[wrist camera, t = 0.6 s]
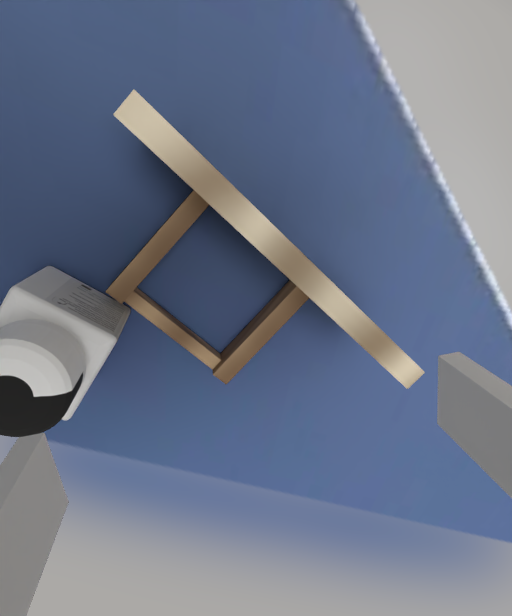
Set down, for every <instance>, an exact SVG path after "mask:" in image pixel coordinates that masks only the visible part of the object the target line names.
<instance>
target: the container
mask: <svg viewBox="0 0 512 616" xmlns="http://www.w3.org/2000/svg"><path fill="white" fill-rule="evenodd" d="M130 312H131V311H130V308H129V307H127V306H125V305H123V304H121V303H119V302H118V301H116V300H114V299H112V298H110V297H108V296H106V295H105V294H103V293H101V292H99V291H97V290H95V289H93V288H92V287H90V286H88V285H86V284H84V283H82V282H80V281H79V280H77V279H75V278H73V277H71V276H69V275H67V274H65V273H64V272H62V271H60V270H58V269H56V268H54V267H52V266H46V267H45V268H43V269H41V270H40V271H38V272H36V273H35V274H33V275H31V276H29V277H28V278H26V279H24V280H23V281H21V282H19V283H18V284H16V285H14V286H12V287H11V288H10V290H9V291H8V293H7V295H6V297H5V299H4V301H3V303H2V305H1V306H0V435H4V436H11V437H24V436H29V435H34V434H39V433H42V432H44V431H46V430H48V429H50V428H51V427H53V426H54V425H56V424H57V423H58V422H59V421H60V420H61V419H62V420H69V419H70V418H71V417H72V415H73V414H74V412H75V410H76V409H77V407H78V405H79V404H80V402H81V400H82V399H83V397H84V395H85V394H86V392H87V390H88V389H89V387H90V385H91V384H92V382H93V380H94V379H95V377H96V375H97V374H98V372H99V370H100V369H101V367H102V366H103V364H104V362H105V361H106V359H107V357H108V356H109V354H110V352H111V351H112V349H113V347H114V346H115V344H116V342H117V340H118V338H119V336H120V334H121V332H122V329H123V327H124V325H125V323H126V321H127V319H128V317H129V315H130Z"/></svg>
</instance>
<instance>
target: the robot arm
mask: <svg viewBox="0 0 512 616" xmlns="http://www.w3.org/2000/svg"><path fill="white" fill-rule="evenodd" d="M437 424H438V425H439V426H440V427H441V428H442V429H443V430H444V431H445V432H446V433H447V434H448V435H449V436H450V437H451V438H452V439H453V440H454V441H455V442H456V443H457V444H458V445H459V446H460V447H461V448H462V449H463V450H464V451H465V452H466V453H467V454H468V455H469V456H470V457H471V458H472V459H473V460H474V461H475V462H476V463H477V464H478V465H479V466H480V467H481V468H482V469H483V470H484V471H485V472H486V473H487V474H488V475H489V476H490V477H491V478H492V479H493V480H494V481H495V482H496V483H497V484H498V485H499V486H500V487H501V488H502V489H503V490H504V491H505V492H506V493H507V494H508V495H509V496H510V497H511V498H512V386H511V385H509V384H508V383H506V382H505V381H503V380H502V379H500V378H498V377H497V376H495V375H494V374H492V373H491V372H489V371H488V370H486V369H485V368H483V367H482V366H480V365H479V364H477V363H475V362H474V361H472V360H471V359H469V358H468V357H466V356H465V355H463V354H462V353H460V352H455V353H450V354H445V355H440V356H438V416H437ZM68 503H69V502H68V499H67V496H66V493H65V490H64V487H63V485H62V482H61V479H60V476H59V473H58V470H57V468H56V465H55V462H54V459H53V456H52V453H51V450H50V448H49V445H48V442H47V439H46V436H45V433H39V434H34V435H29V436H24V437H19V438H18V439H17V441H16V442H15V444H14V445H13V447H12V448H11V450H10V451H9V453H8V455H7V456H6V458H5V459H4V461H3V462H2V464H1V465H0V616H26V615H27V612H28V609H29V607H30V604H31V602H32V599H33V596H34V594H35V591H36V588H37V585H38V583H39V580H40V578H41V575H42V572H43V569H44V567H45V564H46V561H47V559H48V556H49V553H50V551H51V548H52V545H53V543H54V540H55V537H56V535H57V532H58V529H59V527H60V524H61V521H62V519H63V516H64V513H65V511H66V508H67V505H68Z"/></svg>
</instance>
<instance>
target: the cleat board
mask: <svg viewBox="0 0 512 616" xmlns="http://www.w3.org/2000/svg"><path fill="white" fill-rule="evenodd" d="M113 115H114V116H115V117H116V118H117V119H118V120H119V121H120V122H122V123H123V124H124V125H125V126H126V127H127V128H128V129H129V130H130V131H131V132H132V133H133V134H134V135H135V136H137V137H138V138H139V139H140V140H141V141H142V142H143V143H144V144H145V145H146V146H147V147H148V148H149V149H150V150H152V151H153V152H154V153H155V154H156V155H157V156H158V157H159V158H160V159H161V160H162V161H163V162H164V163H166V164H167V165H168V166H169V167H170V168H171V169H172V170H173V171H174V172H175V173H176V174H177V175H178V176H179V177H181V178H182V179H183V180H184V181H185V182H186V183H187V184H188V185H189V186H190V187H191V188H192V189H193V191H192V192H191V194H190V195H189V196H188V197H187V198H186V199H185V200H184V202H183V203H182V204H181V205H180V206H179V207H178V208H177V210H176V211H175V212H174V213H173V214H172V215H171V216H170V218H169V219H168V220H167V221H166V222H165V223H164V224H163V226H162V227H161V228H160V229H159V230H158V231H157V232H156V234H155V235H154V236H153V237H152V238H151V239H150V240H149V242H148V243H147V244H146V245H145V246H144V247H143V248H142V250H141V251H140V252H139V253H138V254H137V255H136V257H135V258H134V259H133V260H132V261H131V262H130V263H129V265H128V266H127V267H126V268H125V269H124V270H123V271H122V273H121V274H120V275H119V276H118V277H117V278H116V279H115V281H114V282H113V283H112V284H111V285H110V286H109V288H108V289H107V290H106V293H108V294H109V295H110V296H112V297H113V298H114V299H115V300H117V301H118V302H119V303H121V304H122V303H123V302H126V303H127V304H128V305H130V306H131V307H132V308H134V309H135V310H136V311H137V312H139V313H140V314H141V315H143V316H144V317H145V318H146V319H148V320H149V321H150V322H152V323H153V324H154V325H156V326H157V327H158V328H159V329H161V330H162V331H163V332H165V333H166V334H167V335H168V336H170V337H171V338H172V339H174V340H175V341H176V342H178V343H179V344H180V345H181V346H183V347H184V348H185V349H187V350H188V351H189V352H190V353H192V354H193V355H194V356H196V357H197V358H198V359H200V360H201V361H202V362H203V363H205V364H206V365H207V366H209V367H210V368H211V369H212V370H213V375H214V376H216V377H217V378H218V379H220V380H221V381H222V382H224V383H225V384H227V383H228V382H229V381H230V380H231V379H232V378H233V377H234V376H235V375H236V374H237V373H238V372H239V371H240V370H241V369H242V368H243V367H244V366H245V365H246V363H247V362H248V361H249V360H250V359H251V358H252V357H253V356H254V355H255V354H256V353H257V352H258V351H259V350H260V349H261V348H262V347H263V346H264V345H265V344H266V343H267V342H268V341H269V340H270V338H271V337H272V336H273V335H274V334H275V333H276V332H277V331H278V330H279V329H280V328H281V327H282V326H283V325H284V324H285V323H286V322H287V321H288V320H289V319H290V318H291V317H292V316H293V314H294V313H295V312H296V311H297V310H298V309H299V308H300V307H301V306H302V305H303V304H304V303H305V302H306V301H307V300H308V299H309V298H310V299H311V300H312V301H314V302H315V303H316V304H317V305H318V306H319V307H320V308H321V309H322V310H323V311H324V312H325V313H326V314H327V315H329V316H330V317H331V318H332V319H333V320H334V321H335V322H336V323H337V324H338V325H339V326H340V327H341V328H342V329H344V330H345V331H346V332H347V333H348V334H349V335H350V336H351V337H352V338H353V339H354V340H355V341H356V342H357V343H359V344H360V345H361V346H362V347H363V348H364V349H365V350H366V351H367V352H368V353H369V354H370V355H371V356H372V357H374V358H375V359H376V360H377V361H378V362H379V363H380V364H381V365H382V366H383V367H384V368H385V369H386V370H388V371H389V372H390V373H391V374H392V375H393V376H394V377H395V378H396V379H397V380H398V381H399V382H400V383H401V384H403V385H404V386H405V387H406V388H407V389H408V388H409V387H410V386H411V385H412V384H413V383H414V382H415V381H416V380H417V379H419V378H420V377H421V376H422V375H423V374H424V373H425V372H424V371H423V370H422V369H421V368H420V367H419V366H418V365H417V364H416V363H415V362H414V361H413V360H412V359H411V358H410V357H409V356H408V355H407V354H405V353H404V352H403V351H402V350H401V349H400V348H399V347H398V346H397V345H396V344H395V343H394V342H393V341H392V340H391V339H390V338H389V337H388V336H387V335H386V334H385V333H384V332H383V331H382V330H381V329H380V328H379V327H378V326H377V325H376V324H375V323H374V322H373V321H372V320H371V319H370V318H369V317H367V316H366V315H365V314H364V313H363V312H362V311H361V310H360V309H359V308H358V307H357V306H356V305H355V304H354V303H353V302H352V301H351V300H350V299H349V298H348V297H347V296H346V295H345V294H344V293H343V292H342V291H341V290H340V289H339V288H338V287H337V286H336V285H335V284H334V283H333V282H332V281H330V280H329V279H328V278H327V277H326V276H325V275H324V274H323V273H322V272H321V271H320V270H319V269H318V268H317V267H316V266H315V265H314V264H313V263H312V262H311V261H310V260H309V259H308V258H307V257H306V256H305V255H304V254H303V253H302V252H301V251H300V250H299V249H298V248H297V247H296V246H295V245H294V244H292V243H291V242H290V241H289V240H288V239H287V238H286V237H285V236H284V235H283V234H282V233H281V232H280V231H279V230H278V229H277V228H276V227H275V226H274V225H273V224H272V223H271V222H270V221H269V220H268V219H267V218H266V217H265V216H264V215H263V214H262V213H261V212H260V211H259V210H258V209H257V208H256V207H254V206H253V205H252V204H251V203H250V202H249V201H248V200H247V199H246V198H245V197H244V196H243V195H242V194H241V193H240V192H239V191H238V190H237V189H236V188H235V187H234V186H233V185H232V184H231V183H230V182H229V181H228V180H227V179H226V178H225V177H224V176H223V175H222V174H221V173H220V172H219V171H218V170H216V169H215V168H214V167H213V166H212V165H211V164H210V163H209V162H208V161H207V160H206V159H205V158H204V157H203V156H202V155H201V154H200V153H199V152H198V151H197V150H196V149H195V148H194V147H193V146H192V145H191V144H190V143H189V142H188V141H187V140H186V139H185V138H184V137H183V136H182V135H181V134H180V133H178V132H177V131H176V130H175V129H174V128H173V127H172V126H171V125H170V124H169V123H168V122H167V121H166V120H165V119H164V118H163V117H162V116H161V115H160V114H159V113H158V112H157V111H156V110H155V109H154V108H153V107H152V106H151V105H150V104H149V103H148V102H147V101H146V100H145V99H144V98H143V97H141V96H140V95H139V94H138V93H137V92H136V91H135V90H133V91H132V92H131V93H130V95H129V96H128V97H127V98H126V100H125V101H124V102H123V103H122V104H121V106H120V107H119V108H118V109H117V111H116V112H115V113H114V114H113ZM209 205H211V206H212V207H213V208H214V209H215V210H216V211H217V212H218V213H219V214H220V215H221V216H222V217H223V218H224V219H226V220H227V221H228V222H229V223H230V224H231V225H232V226H233V227H234V228H235V229H236V230H237V231H238V232H240V233H241V234H242V235H243V236H244V237H245V238H246V239H247V240H248V241H249V242H250V243H251V244H252V245H253V246H255V247H256V248H257V249H258V250H259V251H260V252H261V253H262V254H263V255H264V256H265V257H266V258H267V259H268V260H270V261H271V262H272V263H273V264H274V265H275V266H276V267H277V268H278V269H279V270H280V271H281V272H282V273H283V274H285V275H286V276H287V277H288V278H289V279H290V280H289V281H288V283H287V284H286V285H285V286H284V287H283V288H282V289H281V290H280V291H279V292H278V293H277V294H276V295H275V296H274V297H273V298H272V299H271V301H270V302H269V303H268V304H267V305H266V306H265V307H264V308H263V309H262V310H261V311H260V312H259V313H258V314H257V315H256V316H255V317H254V319H253V320H252V321H251V322H250V323H249V324H248V325H247V326H246V327H245V328H244V329H243V330H242V331H241V332H240V333H239V334H238V335H237V337H236V338H235V339H234V340H233V341H232V342H231V343H230V344H229V345H228V346H227V347H226V348H225V349H224V350H223V351H222V352H221V353H219V352H217V351H216V350H215V349H214V348H212V347H211V346H210V345H209V344H207V343H206V342H205V341H204V340H202V339H201V338H200V337H199V336H197V335H196V334H195V333H194V332H192V331H191V330H190V329H189V328H187V327H186V326H185V325H183V324H182V323H181V322H180V321H178V320H177V319H176V318H175V317H173V316H172V315H171V314H170V313H168V312H167V311H166V310H165V309H163V308H162V307H161V306H160V305H158V304H157V303H156V302H155V301H153V300H152V299H151V298H149V297H148V296H147V295H146V294H144V293H143V292H142V291H141V290H139V289H138V288H137V286H138V285H139V284H140V283H141V282H142V280H143V279H144V278H145V277H146V276H147V275H148V274H149V273H150V271H151V270H152V269H153V268H154V267H155V266H156V265H157V264H158V262H159V261H160V260H161V259H162V258H163V257H164V256H165V254H166V253H167V252H168V251H169V250H170V249H171V248H172V247H173V245H174V244H175V243H176V242H177V241H178V240H179V239H180V238H181V236H182V235H183V234H184V233H185V232H186V231H187V230H188V229H189V227H190V226H191V225H192V224H193V223H194V222H195V221H196V219H197V218H198V217H199V216H200V215H201V214H202V213H203V212H204V210H205V209H206V208H207V207H208V206H209Z"/></svg>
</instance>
